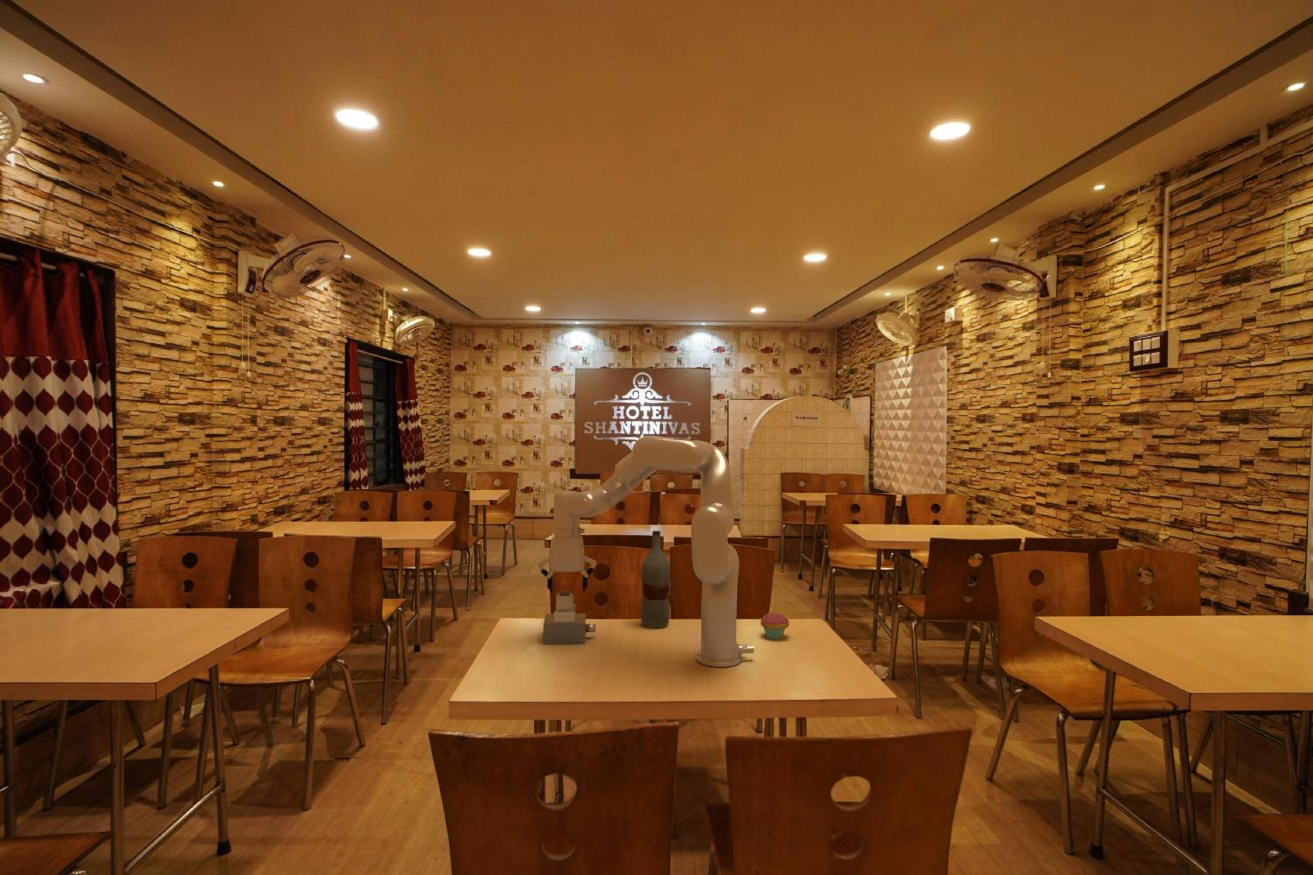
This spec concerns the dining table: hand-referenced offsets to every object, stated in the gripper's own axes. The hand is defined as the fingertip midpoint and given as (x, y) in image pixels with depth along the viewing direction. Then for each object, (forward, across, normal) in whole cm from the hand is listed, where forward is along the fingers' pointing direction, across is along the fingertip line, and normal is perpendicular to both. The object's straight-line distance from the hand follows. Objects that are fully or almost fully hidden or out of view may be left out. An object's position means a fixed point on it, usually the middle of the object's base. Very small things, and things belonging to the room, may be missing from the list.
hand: (567, 590), depth 186 cm
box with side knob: (+14, 0, -2) cm, 14 cm away
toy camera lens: (+8, +1, 0) cm, 8 cm away
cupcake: (+16, -62, +2) cm, 64 cm away
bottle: (+15, -27, -12) cm, 33 cm away
